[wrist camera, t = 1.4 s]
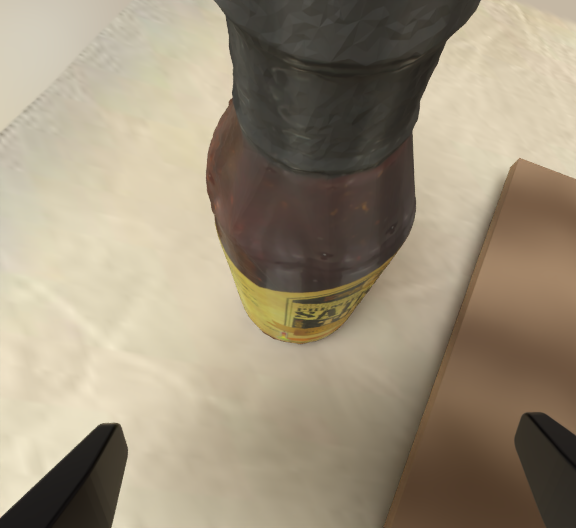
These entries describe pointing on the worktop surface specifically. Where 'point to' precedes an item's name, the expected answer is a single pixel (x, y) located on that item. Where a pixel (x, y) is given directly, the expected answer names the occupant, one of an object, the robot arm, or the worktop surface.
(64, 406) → the worktop surface
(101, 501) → the robot arm
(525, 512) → the shelf stand
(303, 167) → the sauce bottle
